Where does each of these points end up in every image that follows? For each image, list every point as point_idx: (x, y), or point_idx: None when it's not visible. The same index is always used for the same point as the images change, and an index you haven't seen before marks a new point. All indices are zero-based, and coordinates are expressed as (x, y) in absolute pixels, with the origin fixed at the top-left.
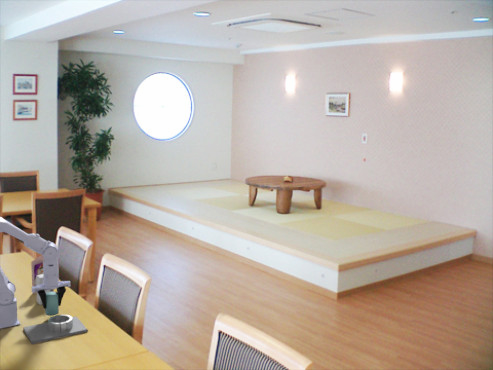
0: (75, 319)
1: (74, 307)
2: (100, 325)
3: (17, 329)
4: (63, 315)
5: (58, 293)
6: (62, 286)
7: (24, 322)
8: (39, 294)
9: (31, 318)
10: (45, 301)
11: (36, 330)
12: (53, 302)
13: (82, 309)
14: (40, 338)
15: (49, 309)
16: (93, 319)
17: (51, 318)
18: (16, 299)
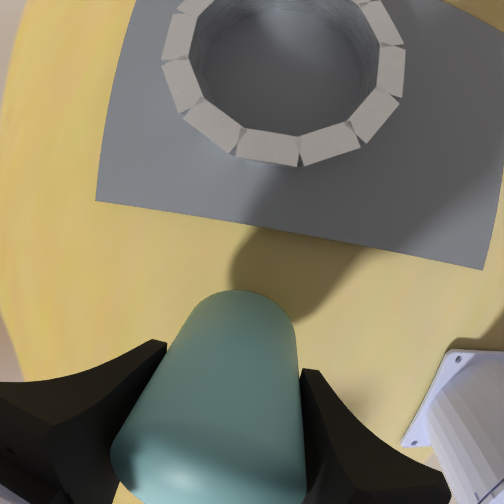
0: (122, 142)
1: (71, 371)
2: (60, 17)
3: (487, 294)
4: (215, 113)
5: (107, 452)
6: (7, 489)
7: (411, 369)
8: (447, 496)
9: (349, 400)
10: (324, 414)
11: (452, 150)
12: (229, 358)
13: (40, 314)
14: (462, 22)
15: (280, 335)
16: (38, 120)
17: (356, 120)
18: (494, 498)
